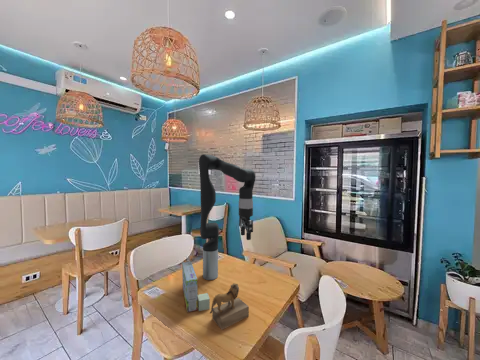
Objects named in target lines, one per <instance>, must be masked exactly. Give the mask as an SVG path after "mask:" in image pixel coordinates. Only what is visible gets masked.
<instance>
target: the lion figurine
mask: <svg viewBox="0 0 480 360" xmlns="http://www.w3.org/2000/svg"><path fill="white" fill-rule="evenodd" d="M239 290H240V288H239V284H238V283H232V284H230V287H229V289H228V292H226V293H222V294H221V293H219V294H216V295H215V296H214V297H213V300H212V304H211V306H210V312H209V314H212V310H214V308H215V305H217V306H218V310H219V312H221V313H222V312H223V311H222V310H220V306H221V305H222V304H225V303H227V302H228V305H231V306H232V308H234V307H235V306H233V305H234V300H235V299H236V298H238V296H239V292H240V291H239ZM230 301H231V303H230Z"/></svg>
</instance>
